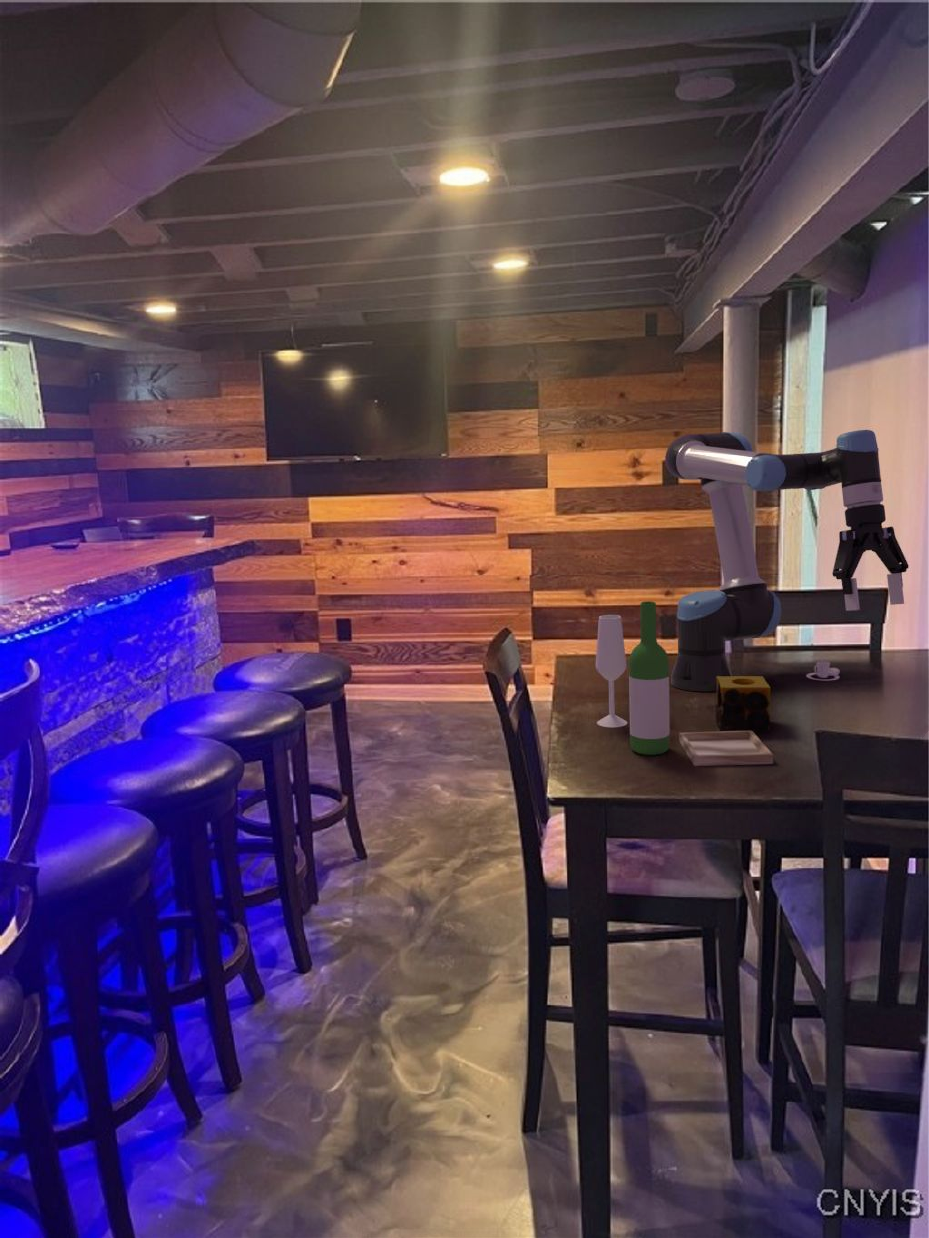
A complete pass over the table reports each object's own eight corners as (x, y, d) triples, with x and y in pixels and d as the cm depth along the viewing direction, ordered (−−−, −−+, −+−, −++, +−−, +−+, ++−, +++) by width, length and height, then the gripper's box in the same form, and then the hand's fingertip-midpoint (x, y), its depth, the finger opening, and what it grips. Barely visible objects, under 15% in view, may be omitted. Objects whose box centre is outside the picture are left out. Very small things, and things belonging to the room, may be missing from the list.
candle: (719, 733, 178) (720, 687, 176) (714, 719, 188) (714, 675, 186) (770, 733, 176) (771, 687, 174) (762, 719, 186) (762, 675, 184)
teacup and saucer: (835, 673, 222) (835, 658, 221) (848, 681, 214) (848, 665, 213) (801, 675, 222) (801, 659, 221) (812, 682, 214) (813, 667, 213)
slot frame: (679, 741, 174) (679, 732, 174) (751, 738, 173) (751, 730, 173) (694, 765, 160) (694, 756, 160) (773, 763, 159) (773, 754, 159)
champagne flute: (591, 721, 190) (588, 616, 186) (616, 716, 193) (614, 612, 189) (607, 729, 184) (605, 620, 180) (633, 724, 187) (631, 617, 182)
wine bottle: (645, 759, 165) (643, 607, 159) (622, 747, 172) (619, 602, 167) (677, 752, 168) (677, 602, 162) (654, 741, 175) (652, 598, 170)
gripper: (837, 505, 167) (849, 611, 167) (919, 500, 178) (931, 600, 178) (806, 511, 174) (818, 613, 174) (888, 506, 185) (899, 603, 185)
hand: (875, 607), depth 176 cm, fingers open, 13 cm apart
